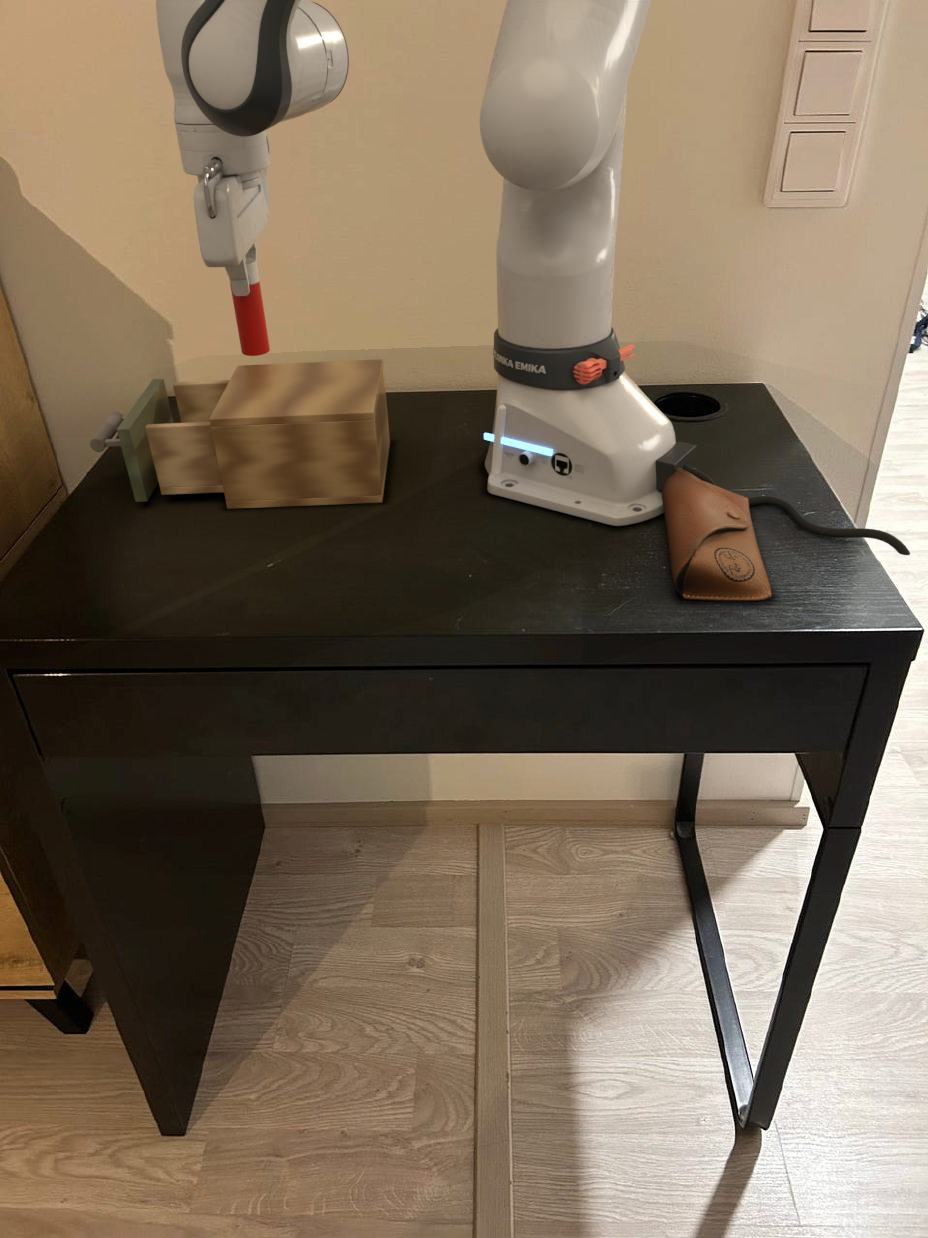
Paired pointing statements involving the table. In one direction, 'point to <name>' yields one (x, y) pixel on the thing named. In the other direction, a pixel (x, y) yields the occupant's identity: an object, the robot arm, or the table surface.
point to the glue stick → (251, 315)
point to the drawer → (167, 440)
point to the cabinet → (303, 434)
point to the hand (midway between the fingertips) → (246, 288)
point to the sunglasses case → (712, 542)
